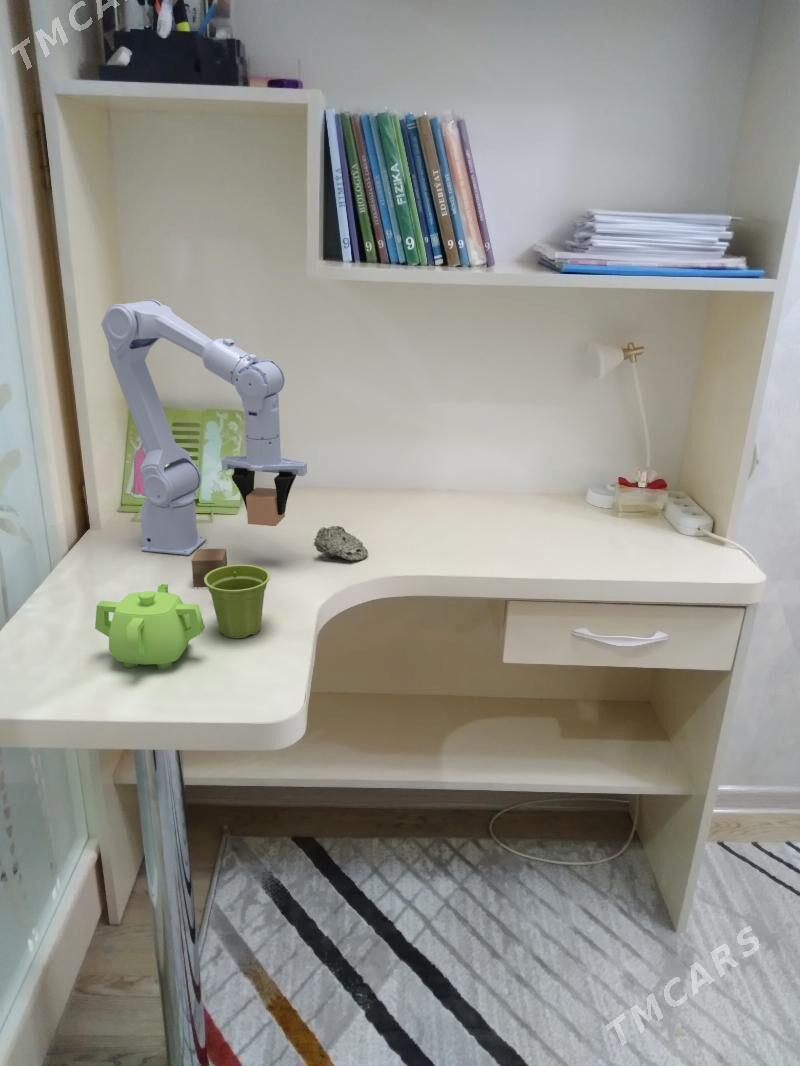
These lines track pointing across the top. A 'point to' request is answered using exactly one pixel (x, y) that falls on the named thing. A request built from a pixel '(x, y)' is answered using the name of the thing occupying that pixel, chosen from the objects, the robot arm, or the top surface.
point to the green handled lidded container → (149, 627)
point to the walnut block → (207, 564)
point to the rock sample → (339, 543)
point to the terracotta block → (263, 507)
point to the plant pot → (238, 598)
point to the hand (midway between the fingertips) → (266, 511)
